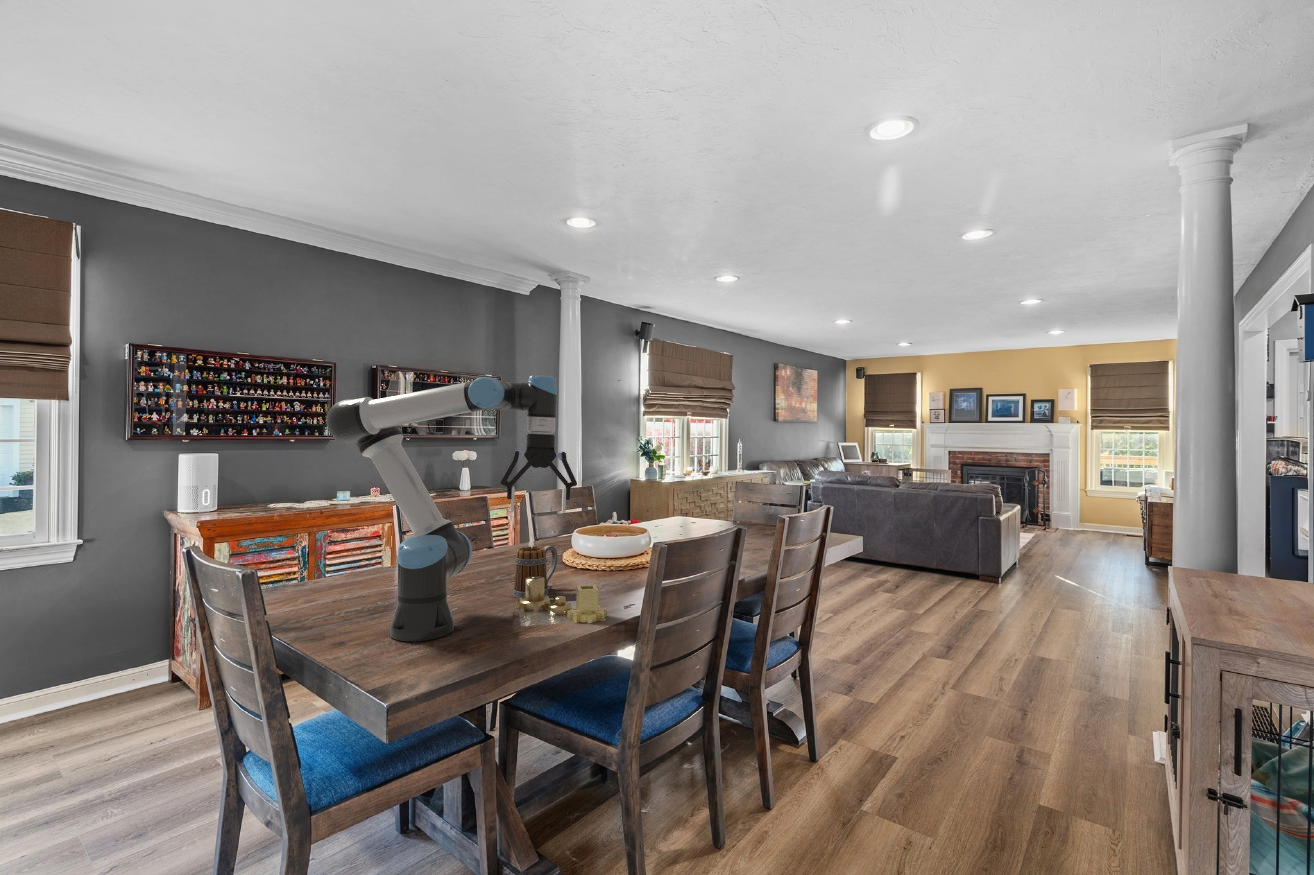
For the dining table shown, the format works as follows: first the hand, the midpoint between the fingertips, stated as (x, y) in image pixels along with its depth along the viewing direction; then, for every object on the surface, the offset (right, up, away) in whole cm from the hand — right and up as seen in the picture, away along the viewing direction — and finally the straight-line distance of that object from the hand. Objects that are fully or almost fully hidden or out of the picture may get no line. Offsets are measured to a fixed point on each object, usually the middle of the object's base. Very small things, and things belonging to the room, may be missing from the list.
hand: (538, 511), depth 166 cm
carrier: (+6, -29, +2) cm, 30 cm away
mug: (-5, -29, +22) cm, 37 cm away
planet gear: (+13, -28, -2) cm, 31 cm away
